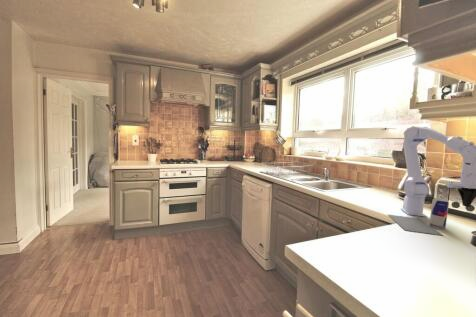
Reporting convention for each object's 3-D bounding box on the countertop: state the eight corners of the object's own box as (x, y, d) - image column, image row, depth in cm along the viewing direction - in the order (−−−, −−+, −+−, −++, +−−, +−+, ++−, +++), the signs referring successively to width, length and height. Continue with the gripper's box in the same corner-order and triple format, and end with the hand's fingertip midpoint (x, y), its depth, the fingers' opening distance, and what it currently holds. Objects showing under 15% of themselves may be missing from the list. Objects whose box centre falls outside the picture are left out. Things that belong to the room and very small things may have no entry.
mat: (388, 215, 114) (388, 214, 114) (419, 219, 110) (419, 218, 110) (404, 230, 95) (404, 229, 95) (443, 235, 91) (443, 235, 91)
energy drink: (440, 230, 97) (444, 202, 96) (426, 225, 102) (429, 198, 101) (448, 228, 99) (452, 201, 98) (433, 224, 104) (437, 197, 103)
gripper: (455, 173, 94) (450, 206, 96) (500, 177, 90) (495, 211, 92) (445, 171, 101) (441, 202, 102) (487, 174, 97) (482, 206, 98)
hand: (466, 206), depth 97 cm, fingers closed
